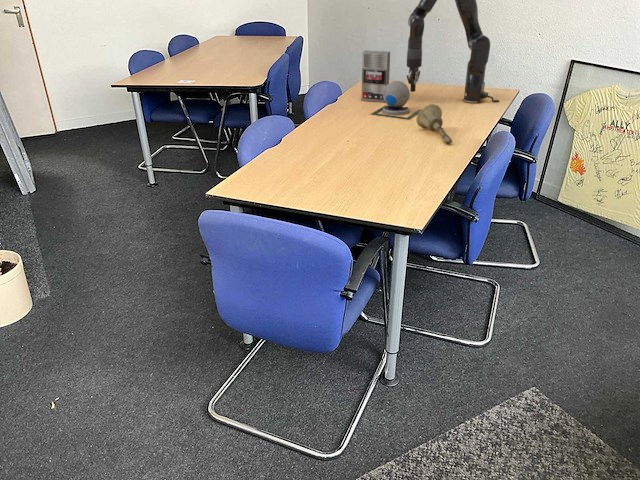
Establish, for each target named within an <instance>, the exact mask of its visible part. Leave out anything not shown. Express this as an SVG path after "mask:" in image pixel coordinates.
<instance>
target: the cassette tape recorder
mask: <svg viewBox="0 0 640 480" xmlns="http://www.w3.org/2000/svg"><path fill="white" fill-rule="evenodd" d="M390 70H391V51H388V50H387V51H385V50H364V51H362V52H361V97H360V101H363V102H364V101H368V102H379V103H385V101H384V98H383V92H384V89H385V87H386V86H387V85H388V84H389V83H390V73H391V72H390Z"/></svg>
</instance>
